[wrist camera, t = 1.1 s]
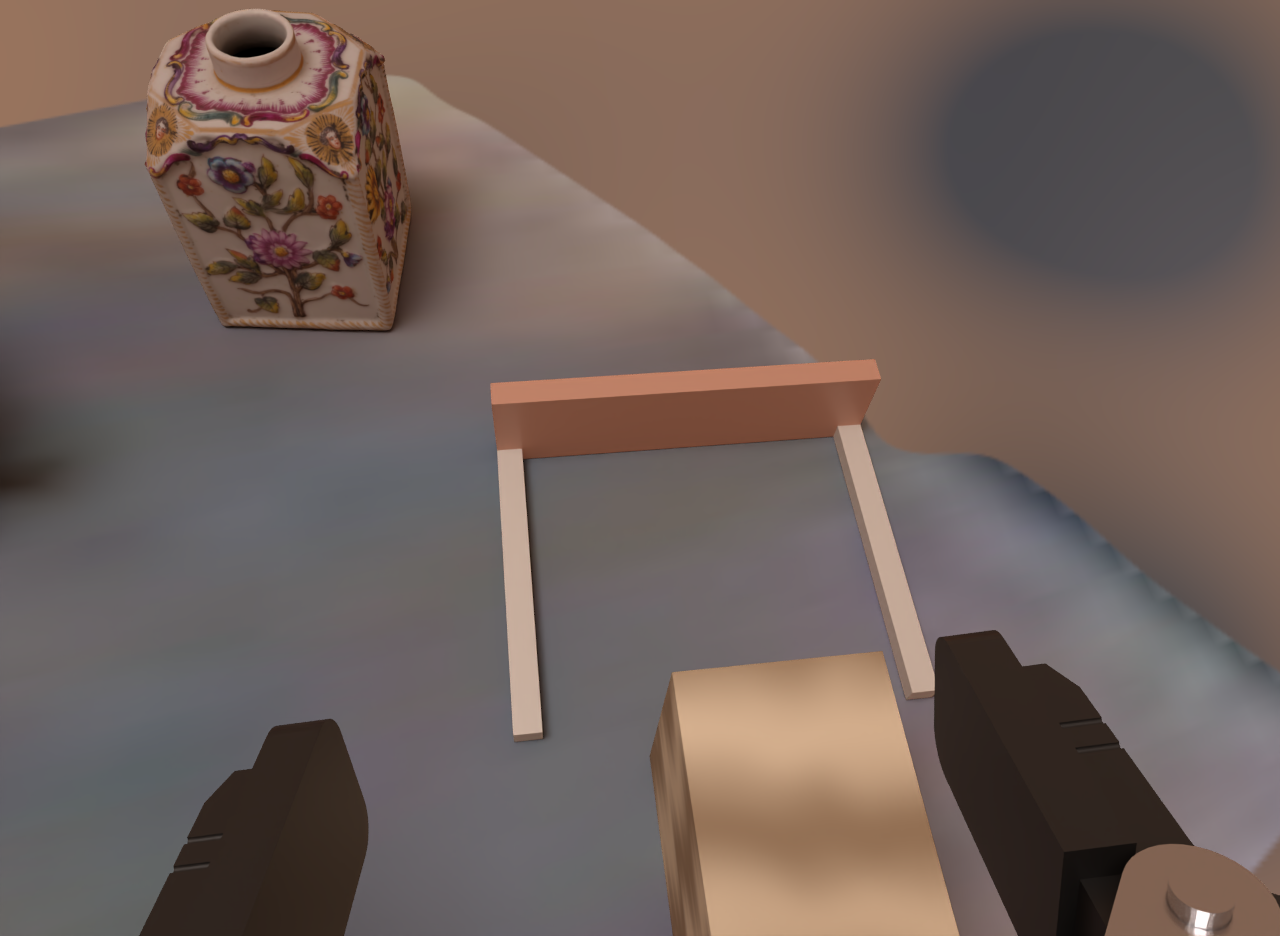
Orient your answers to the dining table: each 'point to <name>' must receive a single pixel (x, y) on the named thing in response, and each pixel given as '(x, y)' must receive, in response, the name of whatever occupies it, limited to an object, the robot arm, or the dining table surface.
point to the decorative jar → (281, 170)
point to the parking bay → (691, 417)
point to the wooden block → (793, 804)
